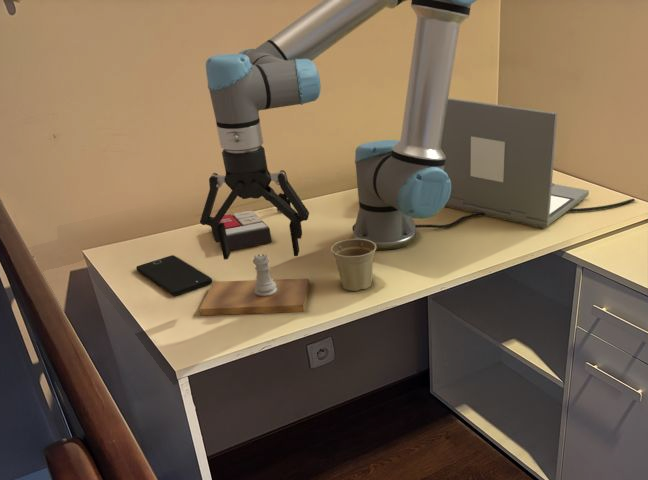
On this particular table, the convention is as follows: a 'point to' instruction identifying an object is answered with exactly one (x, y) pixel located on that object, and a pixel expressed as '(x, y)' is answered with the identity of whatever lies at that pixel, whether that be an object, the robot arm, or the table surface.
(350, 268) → the flower pot
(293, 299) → the board
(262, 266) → the rook chess piece
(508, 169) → the laptop
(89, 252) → the table surface
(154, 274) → the cell phone
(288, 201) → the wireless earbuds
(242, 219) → the calculator
